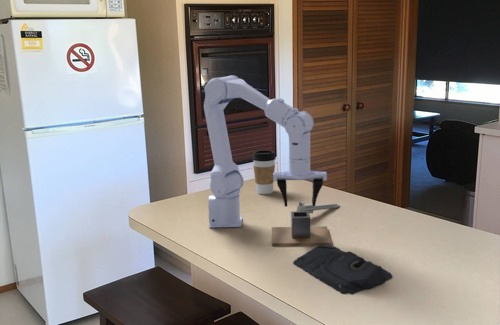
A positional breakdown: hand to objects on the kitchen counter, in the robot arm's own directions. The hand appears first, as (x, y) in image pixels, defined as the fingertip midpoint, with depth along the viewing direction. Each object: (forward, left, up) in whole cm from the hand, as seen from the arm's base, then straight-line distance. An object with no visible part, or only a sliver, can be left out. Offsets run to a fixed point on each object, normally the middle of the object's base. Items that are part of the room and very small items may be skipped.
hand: (299, 205), depth 145 cm
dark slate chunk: (+9, -21, -10) cm, 25 cm away
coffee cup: (-10, +43, -10) cm, 45 cm away
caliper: (+7, +19, -10) cm, 23 cm away
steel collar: (0, 0, -9) cm, 9 cm away
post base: (0, 0, -10) cm, 10 cm away
